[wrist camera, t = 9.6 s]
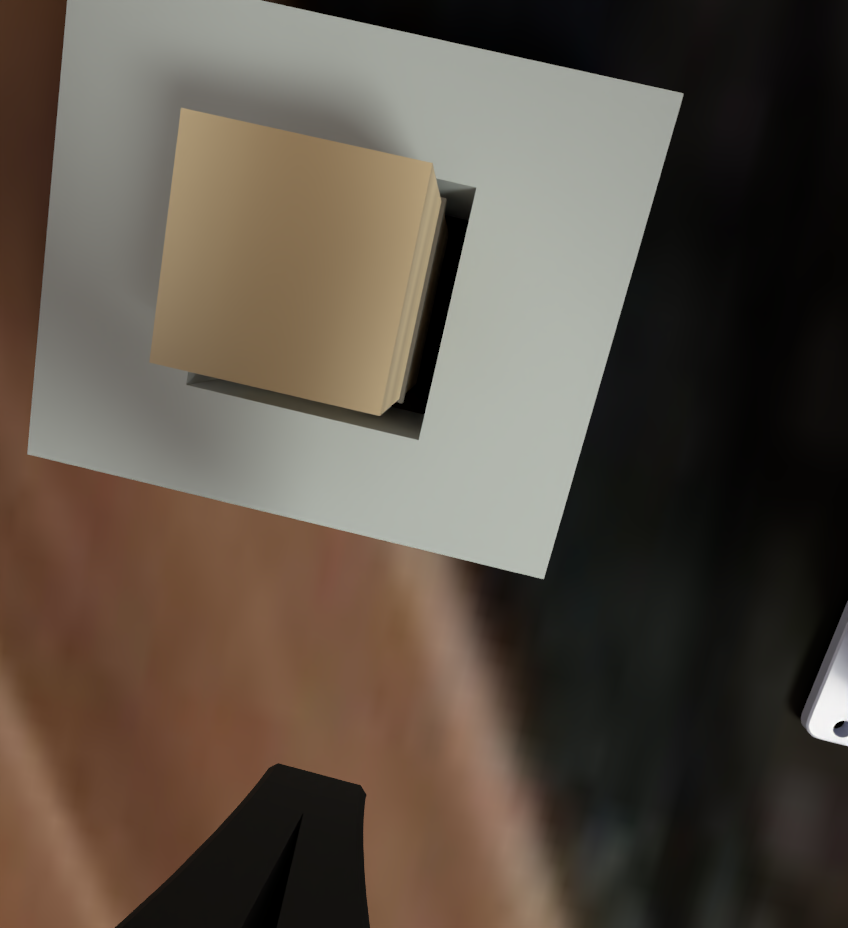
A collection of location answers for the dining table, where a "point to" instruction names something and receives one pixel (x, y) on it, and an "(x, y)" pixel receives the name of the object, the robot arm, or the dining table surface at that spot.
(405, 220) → the peg
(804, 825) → the dining table surface
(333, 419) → the socket block
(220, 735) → the dining table surface
